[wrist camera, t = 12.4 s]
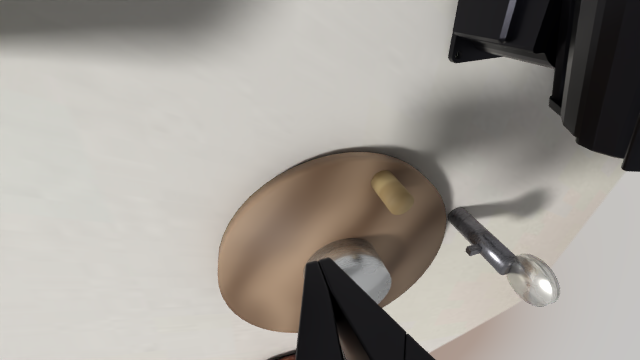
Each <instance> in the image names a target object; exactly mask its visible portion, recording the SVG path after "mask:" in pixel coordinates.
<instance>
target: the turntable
mask: <svg viewBox="0 0 640 360" xmlns="http://www.w3.org/2000/svg"><path fill="white" fill-rule="evenodd" d="M445 229H446V211H445V205H444V203H443V200H442V197H441V195H440V194H439V192H438V191H437V189H436V188H435V187H434V185H433V184H432V183H431V182H430V181H429V180H428V179H426V178H425V177H424V176H423V175H422V174H421V173H420V172H419V171H418V170H417V169H415V168H414V167H412V166H411V165H409V164H408V163H406V162H404V161H402V160H399V159H397V158H395V157H391V156H387V155H384V154H378V153H370V152H348V153H340V154H333V155H329V156H325V157H321V158H317V159H313V160H311V161H308V162H305V163H303V164H300V165H298V166H295V167H293V168H291V169H289V170H287V171H285V172H284V173H282V174H280V175H278V176H276V177H275V178H273V179H272V180H270V181H269V182H267V183H266V184H265V185H263V186H262V187H261V188H260V189H258V190H257V191H256V192H255V193H254V194H253V195H251V196H250V197H249V198H248V199H247V200H246V202H245V203H244V204H243V205H242V206H241V207H240V208H239V209H238V211H237V212H236V214H235V215H234V216H233V218H232V219H231V221H230V222H229V224H228V226H227V228H226V230H225V232H224V235H223V237H222V241H221V244H220V248H219V257H218V283H219V288H220V291H221V294H222V297H223V299H224V300H225V302H226V304H227V305H228V306H229V308H230V309H231V310H232V311H233V312H234V313H235V314H236V315H238V316H239V317H240V318H241V319H243V320H245V321H247V322H248V323H250V324H252V325H255V326H257V327H260V328H263V329H267V330H271V331H277V332H287V333H298V330H299V321H300V312H301V303H302V293H303V284H304V278H303V271H304V267H305V265H306V263H307V261H308V260H309V258H310V257H311V256H312V255H313V254H314V253H315V252H316V251H318V250H319V249H320V248H322V247H324V246H325V245H327V244H329V243H331V242H334V241H337V240H341V239H346V238H359V239H363V240H366V241H368V242H369V243H371V244H372V245H373V246H374V248H375V250H376V251H377V253H378V255H379V257H380V258H381V260H382V262H383V264H384V265H385V267H386V269H387V271H388V272H389V274H390V276H391V287H390V290H389V292H388V293H387V295H386V296H385V297H384V299H383V300H382V301H381V302H380V303H379V304H378V305H379V306H380V307H381V308H383V307H384V306H386V305H388V304H389V303H391V302H392V301H393V300H395V299H396V298H398V297H399V296H400V295H402V294H403V293H404V292H405V291H407V290H408V289H409V288H410V287H411V286H412V285H413V284H414V283H415V282H416V281H417V280H418V279H419V278H420V277H421V276H422V275H423V274H424V272H425V271H426V270H427V268H428V267H429V266H430V265H431V263H432V261H433V260H434V258H435V256H436V255H437V253H438V251H439V249H440V246H441V244H442V241H443V238H444V234H445Z"/></svg>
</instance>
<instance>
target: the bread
mask: <svg viewBox="0 0 640 360" xmlns="http://www.w3.org/2000/svg"><path fill="white" fill-rule="evenodd" d="M295 358H296V354H292V355H289V356H284V357H282V358H279V359H276V360H295Z"/></svg>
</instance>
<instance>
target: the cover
mask: <svg viewBox="0 0 640 360" xmlns="http://www.w3.org/2000/svg"><path fill="white" fill-rule="evenodd" d="M327 257H329V258H331V259H332V260H333V261H334V262H335V263H336V264H337V265H338V266H339V267H340V268H341V269H342V270H343V271H344V272H346V273H347V274H348V275H349V276H350V277H351V278H352V279H353V280H354V281H355V282H356V283H357V284H358V285H359V286H360V287H361V288H362V289H363V290H364V291H365V292H366V293H367V294H368V295H369V296H370V297H371V298H372V299H373V300H374V301H375V302H376V303H377V304H379V303H380V302H381V301H382V300H383V299H384V297H385V296H386V295H387V293H388V292H389V290H390V287H391V276H390V274H389V272H388V271H387V269H386V267H385V265H384V264H383V262H382V260H381V258H380V257H379V255H378V253H377V251H376V250H375V248H374V246H373V245H372V244H371V243H369V242H368V241H366V240H363V239H359V238H346V239H341V240H337V241H334V242H331V243H329V244H327V245H325V246H324V247H322V248H320V249H319V250H318V251H316V252H315V253H314V254H313V255H312V256H311V257H310V258H309V260H308V261H307V263H308V262H312V261H318V260H320V259H323V258H327ZM305 266H306V265H305ZM304 275H305V267H304V271H303V278H304Z"/></svg>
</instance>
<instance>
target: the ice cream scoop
mask: <svg viewBox="0 0 640 360" xmlns="http://www.w3.org/2000/svg"><path fill="white" fill-rule="evenodd" d="M448 221H449V222H450V223H451V224H452V225H453V226H454V227H455V228H456V229H457V230H458V231H459V232H460V233H461V234H462V235H463V236H464V237H465V238H466V239H467V240H468V241H469V242H470V244H471V246H468V247H467V248H466V252H467V253H468V255H469V256H472V255H475V254H479V253H480V254H481V255H482V256H483V257H484V258H485V259H486V260H487V261H488V262H489V263H490V264H491V265H492V266H493V267H494V268H495V269H496V270H497V272H498V273H499V274H501V275H505V274H506V275H507V278H508V281H509V283H510V285H511V286H512V288H513V289H514V291H515V292H516V293H517V294H518V295H519V296H520V297H521V298H522V299H523V300H524V301H526V302H527V303H529V304H531V305H534V306H537V307H542V306H546V305H548V304H552V303H554V302H556V301H557V300H558V298H559V295H560V288H559V283H558V280H557V278H556V276H555V274H554V273H553V271H552V270H551V269H550V267H549V266H548V265H547V264H546V263H545V262H543V261H542V260H541V259H539V258H538V257H536V256H534V255H531V254H520V255H517V256H515V255H514V254H513V253H512V252H511V251H510V250H509V249H508V248H506V247H505V246H504V245H503V244H502V243H501V242H500V241H499V240H498V239H497V238H496V237H495V236H493V235H492V234H491V233H490V232H489V231H488V230H487V229H486V228H485V227H484V226H483V225H481V224H480V223H479V222H478V221H477V220H476V219H475V218H474V217H473V216H472V215H471V214H469V213H468V212H467V211H466V210H465V209H464V208H462V207H459V208H456V209H454V210H453V211H452V212H451V213H450V214H449V216H448Z"/></svg>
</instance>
